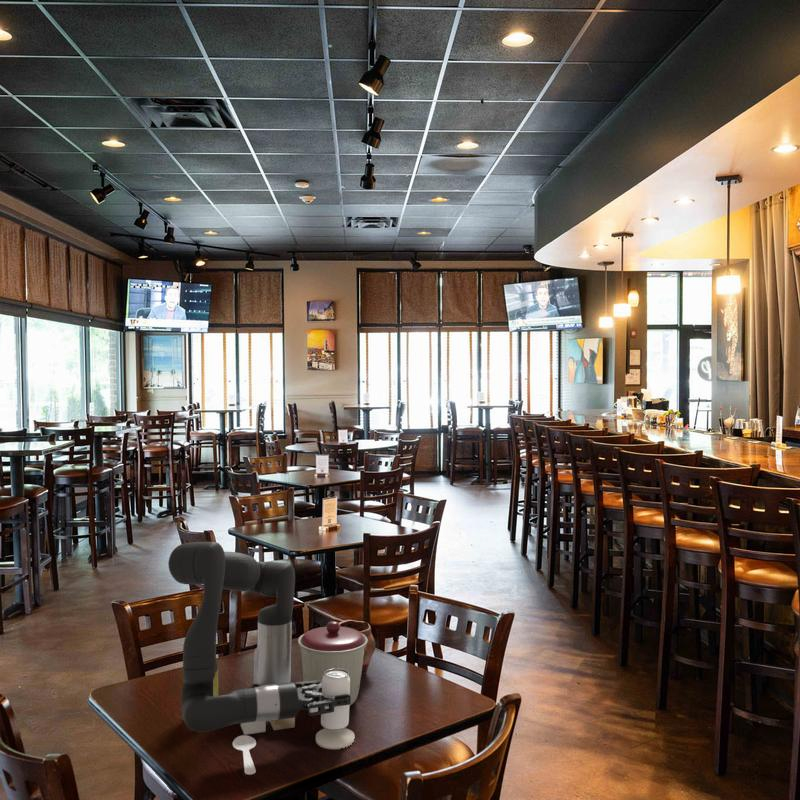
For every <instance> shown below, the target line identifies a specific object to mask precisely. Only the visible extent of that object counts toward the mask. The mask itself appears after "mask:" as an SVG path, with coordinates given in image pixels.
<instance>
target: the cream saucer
mask: <svg viewBox="0 0 800 800" xmlns="http://www.w3.org/2000/svg"><path fill="white" fill-rule="evenodd" d="M354 739H355V733H354V732H353V730H351V729H349V728H347V727H345V728H344V729H341V730H329V729H326V728H323V729H320V730H319V731H317V732H316V734H315V743H316V744H317V746H318V747H320V748H323V749H326V750H342V749H341V748H343V749H346V748H348V746H349V747H350V745H351V746H352V745H353V744H354V743H353V742H355V740H354ZM352 743H353V744H352ZM345 747H346V748H345Z"/></svg>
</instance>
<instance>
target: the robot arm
mask: <svg viewBox="0 0 800 800" xmlns="http://www.w3.org/2000/svg"><path fill="white" fill-rule="evenodd" d="M167 563H168V571H169V573H170V575H171V577H172V578H173V579H174V580H175V581H176V582H177V583H179V584H183V585H203V596H202V600H201V604H200V607H199V609H198V612H197V613H196V615H195V618H194V619H193V621H192V623H191V625H190V627H189V628H188V631H187V633H186V634H185V637H184V641H183V647H182V648H183V649H182V675H183V677H182V678H183V682H182V689H181V690H182V692H181V701H180V703H181V704H180V710H181V711H180V712H181V717H182V719H183V721H184V724H185V725H186V727H187V728H188V729H189V730H190V731H193V732H197V733H201V732H204V733H205V732H211V731H215V730H218V729H223V728H225V727H229V726H232V725H236V724H239V725H241V723H248V722H256V721H266V722H270V721H272V720H280V719H287V718H294V717H295V718H296V717H297V716H298V712H299V711H300V710H301V711H308V716H309V717H313V716H319V715H320V716H321V714H326V713H331V712H334V708H335V707H336V706H343V705H349V704H350V701H351V696H350V695H349V694H344V695H336V696H327V695H325V694H324V693H322V683H321V681H319V680H316V681H304V680H302V681H296V682H293V681H292V682H291V678H292V676H291V675H292V673H291V672H292V635H293V634H292V629H293V628H292V623H293V622H292V621H293V610H294V598H295V597H294V596H295V586H296V571H295V568H294V566H293V564H291V563H288V562H287V563H286V562H279V561H278V562H276V561H275V562H274V561H257V559H256V558H254V557H252V556H251V555H249V554H245V553H241V552H236V551H234V552H233V551H225V550H224V548H223V547H222V545H221V544H220V543H218V542H217V541H195V542H194V541H192V542H184V543H181V544H179V545H177V546H176V547H175V548H174V549H173V550H172V552H171V553H170V555H169V558H168V562H167ZM223 589H225V590H228V591H235V592H247V591H250V592H253V593H255V594H258V595H260V596H264V597H274V598H276V601H275V604H271V605H268V606H265V607H263V608H261V609H259V611H258V612H257V613H258V615H257V646H256V648H255V649H254V650H253V651H254V652H253V653H254V654H253V685H257V686H256V687H249V688H241V689H236V690H235V689H234V690H232V691H230V692H229V693H227V694H222V695H218V696H213V679H214V677H215V674H216V661H217V633H218V623H219V622H218V621H219V618H220V617H219V616H220V610H221V604H222V597H223V596H222V595H223ZM320 698H321V701H320ZM325 708H329V709H325Z"/></svg>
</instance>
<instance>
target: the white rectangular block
mask: <svg viewBox="0 0 800 800" xmlns="http://www.w3.org/2000/svg"><path fill="white" fill-rule="evenodd" d="M266 724H267V721H256V722H248V723H240V727H241V730H242V733H243V735H247V736H248V735H252V734H259V733H265V732H266V730H267V729H266Z"/></svg>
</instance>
